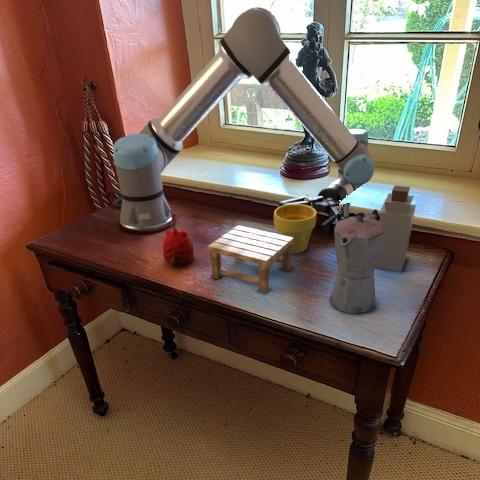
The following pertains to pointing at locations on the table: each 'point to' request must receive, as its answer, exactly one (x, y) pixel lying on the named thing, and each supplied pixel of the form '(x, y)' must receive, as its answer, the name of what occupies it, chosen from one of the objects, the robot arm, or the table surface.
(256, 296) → the table surface
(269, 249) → the plant rack
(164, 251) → the red clay folk toy
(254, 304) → the table surface
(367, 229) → the moka pot
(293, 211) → the flower pot
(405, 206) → the perfume bottle
